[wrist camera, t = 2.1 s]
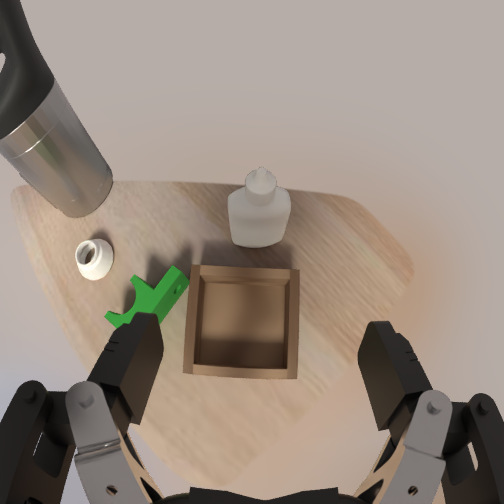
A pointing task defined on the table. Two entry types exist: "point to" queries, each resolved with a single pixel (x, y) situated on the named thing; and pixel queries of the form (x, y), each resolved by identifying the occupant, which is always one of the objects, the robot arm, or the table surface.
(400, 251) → the table surface
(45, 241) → the table surface
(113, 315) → the pipe clamp
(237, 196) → the eye dropper bottle
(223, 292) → the box
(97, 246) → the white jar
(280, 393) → the table surface
